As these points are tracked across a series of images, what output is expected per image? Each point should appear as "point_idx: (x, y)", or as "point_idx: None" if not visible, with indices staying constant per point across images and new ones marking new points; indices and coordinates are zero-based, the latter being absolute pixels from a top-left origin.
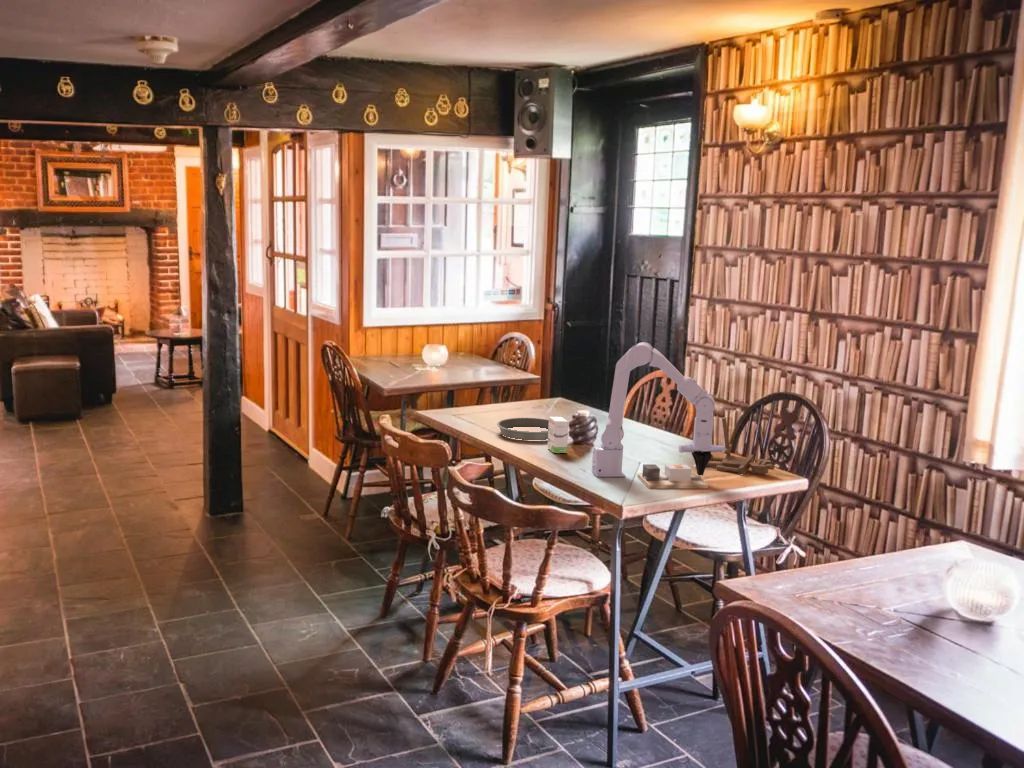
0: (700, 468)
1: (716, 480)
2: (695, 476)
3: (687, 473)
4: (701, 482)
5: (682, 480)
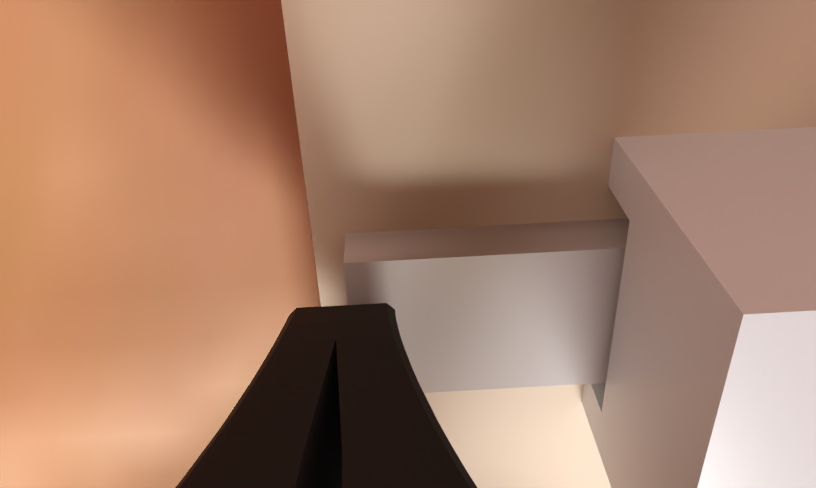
0: (383, 403)
1: (18, 391)
2: (449, 325)
3: (788, 222)
4: (392, 28)
5: (810, 134)
